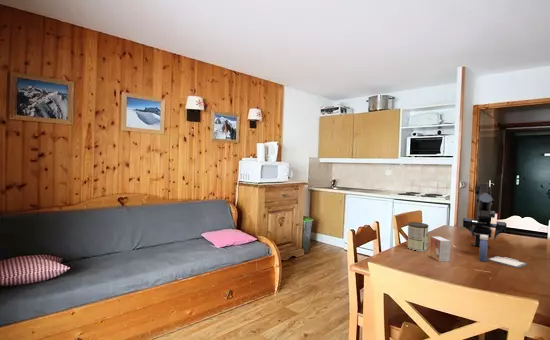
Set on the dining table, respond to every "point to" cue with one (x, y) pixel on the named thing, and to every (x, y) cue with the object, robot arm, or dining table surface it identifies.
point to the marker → (483, 248)
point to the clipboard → (507, 261)
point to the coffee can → (417, 236)
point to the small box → (440, 248)
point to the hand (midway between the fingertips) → (483, 238)
